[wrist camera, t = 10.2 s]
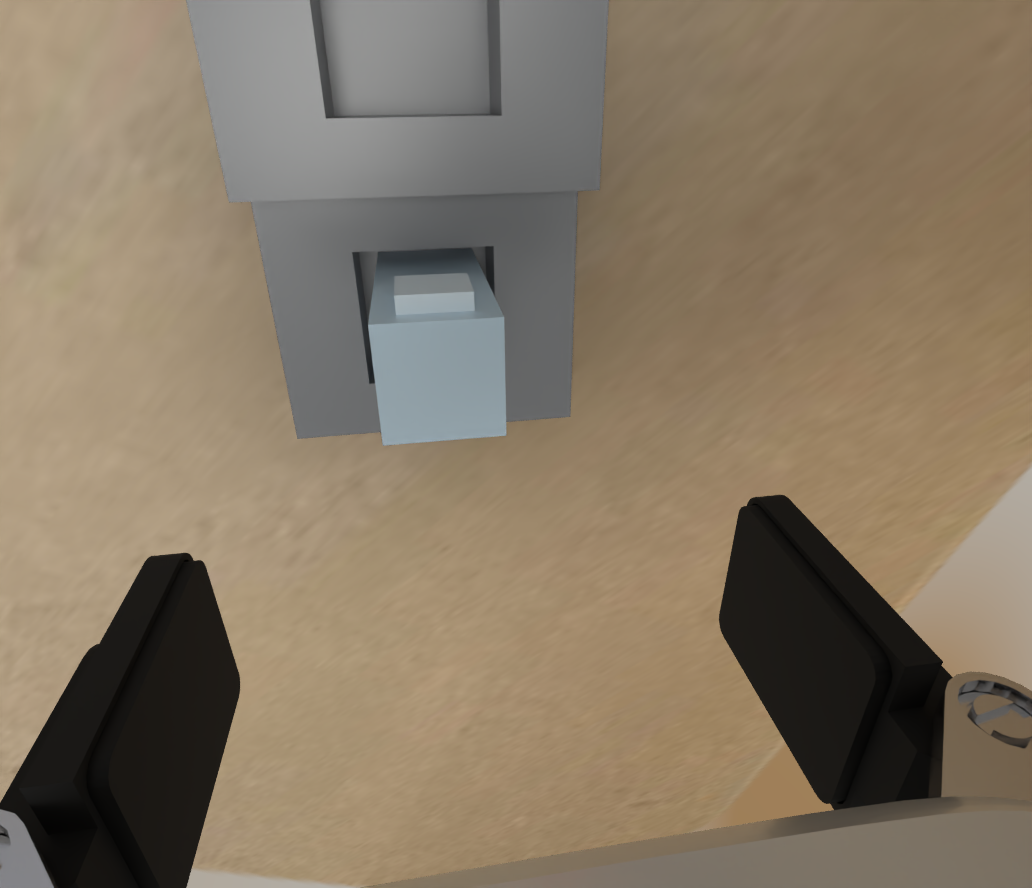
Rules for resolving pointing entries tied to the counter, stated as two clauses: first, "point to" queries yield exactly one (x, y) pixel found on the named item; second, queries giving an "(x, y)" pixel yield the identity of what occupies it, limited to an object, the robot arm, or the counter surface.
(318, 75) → the socket panel
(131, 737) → the robot arm
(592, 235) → the counter surface
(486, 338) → the plug
